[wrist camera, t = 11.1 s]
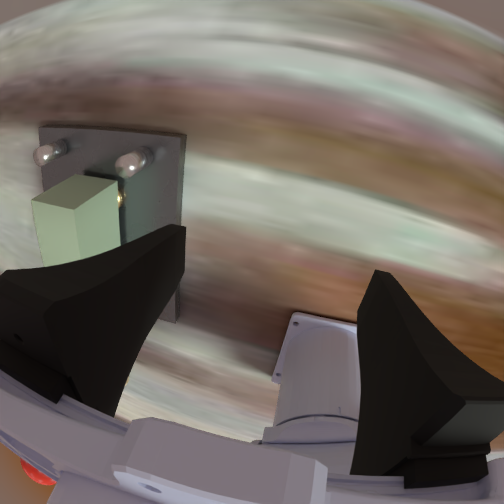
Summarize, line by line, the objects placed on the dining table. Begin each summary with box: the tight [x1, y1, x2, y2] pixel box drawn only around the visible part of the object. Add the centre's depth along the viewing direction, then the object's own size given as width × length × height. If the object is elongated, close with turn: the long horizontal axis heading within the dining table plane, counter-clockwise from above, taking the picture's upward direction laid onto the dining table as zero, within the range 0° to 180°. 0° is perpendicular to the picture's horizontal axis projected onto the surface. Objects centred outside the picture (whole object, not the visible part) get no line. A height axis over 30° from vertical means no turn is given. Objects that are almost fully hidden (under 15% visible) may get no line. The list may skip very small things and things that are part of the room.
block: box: [31, 174, 121, 267], centre depth 21 cm, size 9×4×5 cm, turn 171°
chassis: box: [33, 125, 187, 323], centre depth 23 cm, size 16×13×4 cm
